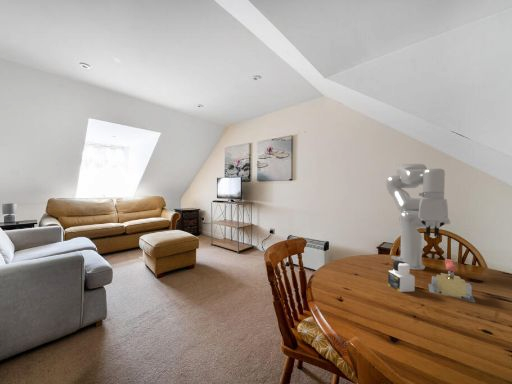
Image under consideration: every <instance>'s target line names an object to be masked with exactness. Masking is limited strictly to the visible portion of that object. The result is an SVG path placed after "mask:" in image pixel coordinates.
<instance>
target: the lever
mask: <svg viewBox="0 0 512 384" xmlns="http://www.w3.org/2000/svg"><path fill="white" fill-rule="evenodd" d="M444 260H445V262H444V263H445V264H444V265H445V270H446V271H447V272H448V271H452V272H454V273H455V272H457V265H456V264H454V262H453V259H449V258H445V259H444Z"/></svg>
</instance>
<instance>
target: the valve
mask: <svg viewBox="0 0 512 384" xmlns="http://www.w3.org/2000/svg"><path fill="white" fill-rule="evenodd" d="M431 284H432V287H433V292H437V293H440V291H441V293H442V294H443V295H442V296H445V295H447V296H446V297H449V296H452V297H451V298H453V297H456V298H455V299H458V298H460V299H459V300H462V299H461V297H463V299H468V300H470V295H471V294H472V292H473V291H472V290H473V289H472V288H473V286H472V285H471V283H470V282H466V281H465V279H462V278H461V277H460V276H458V275H455V272H452V271H448V270H447V273H443V272H440V274H436V276H434V275H432V276H431ZM472 295H473V294H472Z"/></svg>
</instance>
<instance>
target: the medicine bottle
mask: <svg viewBox="0 0 512 384" xmlns="http://www.w3.org/2000/svg"><path fill="white" fill-rule="evenodd" d="M410 270H411V269H410V265H409V264H408V263H406V262H403V261H397V260H394V261H393V262H392V269H391V270H388V272H387V273H388V274H387V286H388V287H391V288H393V289H395V290H396V291H397V292H399V293H404V292H406V293H407V292H415V288H416V287H415V286H416V285H415V282H416V281H415V280H416V278H415V277H416V276H415V275H413V274H411V273H410Z"/></svg>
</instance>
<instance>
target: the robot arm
mask: <svg viewBox="0 0 512 384" xmlns="http://www.w3.org/2000/svg"><path fill="white" fill-rule="evenodd" d="M396 174H397V175H396ZM396 174H395V175H391V176H389V177H387V179H386V181H385V182H386V183H385V185H386V189H387V191H388V194H389V195H390V196H391V197H392V198H393V200H394V203H395V205H396V207H397V208H396V209H397V210H398V212H400V213H399V215H398V217H399V226H400V254H399V256H396V255H391V256H390V257H391V260H393V261H403V262H406V263H408V264H409V265H410V270H418V271H423V270H425V268H426V266H425V265H424V264H423V263H422V251H423V250H422V247H423V246H422V243H423V241H422V239H423V238H422V234H421V233H420V232H419V230H417V229H425V234H426V235H427V236H428V237H430V236H431V229H434V230H433V231H434V232H433V235H434V237H435V238H437V235H438V236H439V234H440V228H441V227H443V226H444V225H449V224H451V221H450V219H449V208H448V207H449V206H448V200H447V199H446V198H445V176H446V173H445V169H443V168H427V166H426V165H425V164H424V163H405V164H401V165H399V166H398V167H397V169H396ZM419 186H422V192H418V196H419V197H422V198H416V197H411V195H410V194H409V192H407V191H406V190H405V189H416V188H418V187H419Z"/></svg>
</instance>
